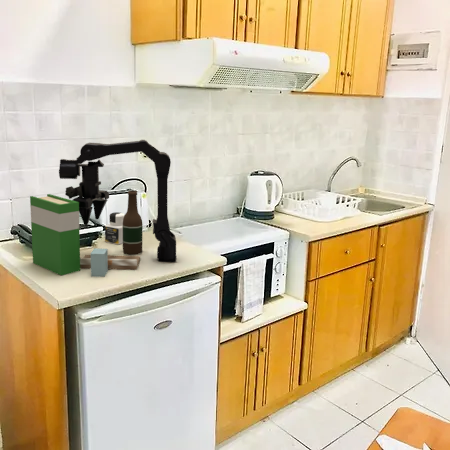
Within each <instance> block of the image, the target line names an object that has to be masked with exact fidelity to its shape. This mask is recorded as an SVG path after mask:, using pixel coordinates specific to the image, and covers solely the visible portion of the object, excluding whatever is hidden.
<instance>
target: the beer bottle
mask: <svg viewBox="0 0 450 450" xmlns="http://www.w3.org/2000/svg"><path fill="white" fill-rule="evenodd" d="M127 195H128V197H127V198H128V199H127V210H126V212H125V213H124V218H123V243H122V252H123V254H125V255H127V256H138V255H140V254H141V253H142V252H143V220H142V219H143V218H142V217H141V215H140V213H139V210H138V192H137V190H128V191H127Z"/></svg>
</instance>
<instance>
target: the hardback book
mask: <svg viewBox="0 0 450 450" xmlns="http://www.w3.org/2000/svg"><path fill="white" fill-rule="evenodd" d="M29 199H30V200H29V202H30V204H29V205H30V206H29V207H30V223H31V229H30V230H31V245H32V246H31V250H32V252H31V253H32V264H35V265H37V266H39V267H41V268H43V269H45V270H48V271H50V272H52V273H55V274H57V275H59V276H65V275H69V274H73V273H76V272H80V271H81V269H80V258H81V250H80V249H81V247H80V245H81V244H80V237H81V236H80V235H81V234H80V212H79V202H76V201H73V199H69V198H65V197H61V196H58V195H55V194H51V193H48V194H47V195H46V196H41V197H36V196H33V195H31V196H29Z"/></svg>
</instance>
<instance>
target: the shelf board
mask: <svg viewBox="0 0 450 450" xmlns="http://www.w3.org/2000/svg"><path fill="white" fill-rule="evenodd" d="M140 261H141V256H140V255H114V254H113V255H111V254H110V255H109V254H108V270H121V271H122V270H123V271H124V270H126V271H127V270H128V271H137V270H138V268H139V264H140ZM82 269H89V270H91V254H84V256H83V257H80V270H82Z"/></svg>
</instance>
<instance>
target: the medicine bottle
mask: <svg viewBox="0 0 450 450" xmlns="http://www.w3.org/2000/svg"><path fill="white" fill-rule="evenodd" d="M124 215H125V213H123V212H112V213H110V214H109V223H108V224H105V225H104V241H105V243H109V244H114V245H123V218H124Z"/></svg>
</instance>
